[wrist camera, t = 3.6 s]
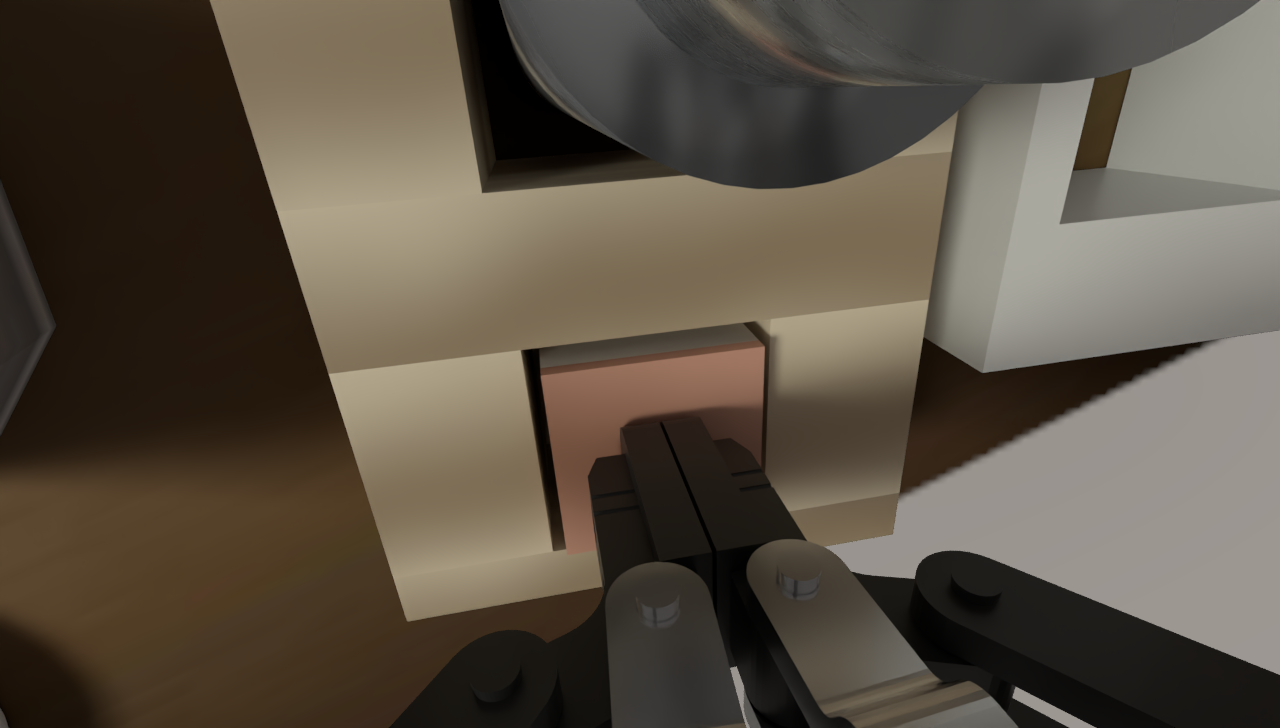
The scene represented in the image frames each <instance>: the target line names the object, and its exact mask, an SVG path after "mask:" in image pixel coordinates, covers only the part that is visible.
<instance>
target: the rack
mask: <svg viewBox="0 0 1280 728" xmlns="http://www.w3.org/2000/svg"><path fill="white" fill-rule="evenodd" d="M1093 82H1094V78H1091V79H1084V80H1077V81H1071V82H1064V83H1043V84H985V85H984V86H983V87H982V88H981V89H980V90H979V91H978V92H977V93H976V94H975V95H974V96H973V97H972V98H970V99H969V100H968V101H967V102H966V103H965V104H964V105H963V106H962V107H961V108H960V109H959V110H958V116H957V122H956V129H955V135H954V142H953V148H952V155H951V161H950V167H949V174H948V180H947V187H946V193H945V200H944V206H943V213H942V219H941V226H940V232H939V239H938V245H937V251H936V258H935V264H934V271H933V277H932V284H931V290H930V297H929V303H928V310H927V316H926V323H925V329H924V336H923V337H925V338H926V339H928V340H929V341H931V342H933V343H934V344H936V345H938V346H939V347H941V348H942V349H944V350H946V351H947V352H949V353H951V354H952V355H954V356H955V357H957V358H959V359H960V360H962V361H964V362H965V363H967V364H968V365H970V366H972V367H973V368H975V369H977V370H978V371H980V372H982V373H986V372H993V371H1000V370H1007V369H1014V368H1021V367H1028V366H1035V365H1042V364H1049V363H1056V362H1062V361H1069V360H1076V359H1083V358H1090V357H1097V356H1104V355H1111V354H1118V353H1125V352H1132V351H1139V350H1146V349H1153V348H1160V347H1167V346H1174V345H1181V344H1188V343H1195V342H1202V341H1208V340H1215V339H1222V338H1229V337H1236V336H1243V335H1250V334H1257V333H1264V332H1271V331H1278V330H1280V0H1260V1H1259V2H1258V3H1256V4H1255V5H1254V6H1252V7H1251V8H1250V9H1248V10H1247V11H1246V12H1244V13H1243V14H1241V15H1240V16H1238V17H1236V18H1235V19H1233V20H1231V21H1230V22H1228V23H1226V24H1225V25H1223V26H1221V27H1220V28H1218V29H1216V30H1215V31H1213V32H1211V33H1210V34H1208V35H1206V36H1205V37H1203V38H1201V39H1200V40H1198V41H1196V42H1194V43H1192V44H1190V45H1188V46H1185V47H1183V48H1181V49H1179V50H1177V51H1174V52H1172V53H1170V54H1168V55H1166V56H1163V57H1161V58H1159V59H1157V60H1155V61H1152V62H1150V63H1147V64H1144V65H1140V66H1137V67H1134V68H1132V71H1131V75H1130V79H1129V83H1128V86H1127V90H1126V94H1125V98H1124V102H1123V105H1122V109H1121V113H1120V117H1119V121H1118V124H1117V128H1116V132H1115V136H1114V140H1113V143H1112V147H1111V151H1110V155H1109V159H1108V163H1107V166H1106V168H1097V169H1086V170H1076V171H1072V170H1073V166H1074V162H1075V157H1076V153H1077V149H1078V145H1079V141H1080V137H1081V132H1082V128H1083V124H1084V120H1085V116H1086V111H1087V107H1088V103H1089V99H1090V95H1091V91H1092V86H1093Z"/></svg>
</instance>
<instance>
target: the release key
mask: <svg viewBox="0 0 1280 728" xmlns="http://www.w3.org/2000/svg"><path fill="white" fill-rule="evenodd" d="M539 354H540V372H541V381H542V388H543V394H544V401H545V408H546V415H547V422H548V428H549V435H550V442H551V449H552V455H553V462H554V469H555V476H556V482H557V489H558V496H559V503H560V510H561V516H562V523H563V530H564V537H565V543H566V550H567V555H571V554H577V553H583V552H589V551H595V550H597V549H596V543H595V534H594V526H593V518H592V509H591V501H590V492H589V484H588V475H589V472H590V470H591V468H592V466H593V464H594V462H595V460H596V458H600V457H607V456H613V455H620V454H621V442H620V427H626V426H633V425H640V424H647V423H654V422H659V424H660V422H661V421H667V420H674V419H681V418H688V417H695V416H699V417H700V418H701V420H702V421H703V423H704V425H705V427H706V429H707V431H708V433H709V434H710V436H711V438H712V440H719V439H726V438H731V439H733V440H734V441H736V442H737V443H739V444H740V445H742V446H743V447H745V448H746V449H748V450H749V451H751V453H752V454H753V456H754V457H755V459H756V461H757V462H758V464H759V465H760V467H761V450H762V418H763V386H764V355H765V346H764V345H763V344H762V343H761V342H760V341H759V340H758V339H757V338H756V337H755V336H754V335H753V333H752V332H751V331H750V330H749V329H748V328H747V327H746V326H745V325H744V324H743V323H736V324H727V325H719V326H711V327H703V328H695V329H687V330H679V331H671V332H663V333H655V334H647V335H639V336H631V337H623V338H615V339H607V340H599V341H591V342H582V343H574V344H566V345H558V346H550V347H542V348H539Z"/></svg>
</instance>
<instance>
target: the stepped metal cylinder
mask: <svg viewBox="0 0 1280 728" xmlns="http://www.w3.org/2000/svg"><path fill="white" fill-rule="evenodd" d="M499 1H500V5H501V9H502V12H503V16H504V19H505V23H506V26H507V30H508V33H509V37H510V41H511V44H512V48H513V51H514V54H515V57H516V60H517V62H518V65H519V67H520V69H521V71H522V73H523V75H524V76H525V78H526V80H527V81H528V83H529V84H530V85H531V86H532V88H533V89H534V90H535V91H536V92H537V93H538V94H539V95H540V96H541V98H542V99H544V100H545V101H546V102H547V103H549V104H550V105H551V106H553V107H555V108H556V109H558V110H560V111H561V112H563V113H565V114H567V115H569V116H571V117H573V118H575V119H576V120H578V121H580V122H582V123H584V124H586V125H588V126H590V127H592V128H594V129H595V130H597V131H599V132H601V133H603V134H605V135H607V136H609V137H611V138H613V139H614V140H616V141H618V142H620V143H622V144H624V145H626V146H628V147H630V148H632V149H633V150H635V151H637V152H639V153H641V154H643V155H645V156H647V157H649V158H651V159H652V160H654V161H656V162H659V163H661V164H663V165H666V166H668V167H670V168H673V169H675V170H677V171H680V172H682V173H684V174H686V175H689V176H692V177H696V178H699V179H703V180H707V181H711V182H714V183H718V184H722V185H728V186H736V187H744V188H752V189H785V188H797V187H803V186H809V185H815V184H821V183H827V182H830V181H833V180H836V179H840V178H843V177H846V176H849V175H853V174H856V173H859V172H861V171H864V170H866V169H868V168H870V167H872V166H875V165H877V164H879V163H881V162H883V161H886V160H888V159H890V158H892V157H894V156H895V155H897V154H899V153H900V152H902V151H904V150H905V149H907V148H908V147H910V146H912V145H913V144H915V143H917V142H918V141H920V140H922V139H923V138H924V137H926V136H927V135H928V134H930V133H931V132H932V131H933V130H935V129H936V128H937V127H939V126H940V125H941V124H942V123H944V122H945V121H946V120H948V119H949V118H950V117H951V116H953V115H954V114H955V113H956V112H957V111H958V110H959V109H960V108H961V107H962V106H963V105H964V104H965V103H966V102H967V101H968V100H969V99H970V98H972V97H973V96H974V95H975V94H976V93H977V92H978V91H979V90H980V89H981V88H982V87H983V86H984V85H985V84H1043V83H1064V82H1071V81H1077V80H1084V79H1091V78H1097V77H1104V76H1107V75H1111V74H1114V73H1117V72H1121V71H1124V70H1127V69H1130V68H1134V67H1137V66H1140V65H1144V64H1147V63H1150V62H1152V61H1155V60H1157V59H1159V58H1161V57H1163V56H1166V55H1168V54H1170V53H1172V52H1174V51H1177V50H1179V49H1181V48H1183V47H1185V46H1188V45H1190V44H1192V43H1194V42H1196V41H1198V40H1200V39H1201V38H1203V37H1205V36H1206V35H1208V34H1210V33H1211V32H1213V31H1215V30H1216V29H1218V28H1220V27H1221V26H1223V25H1225V24H1226V23H1228V22H1230V21H1231V20H1233V19H1235V18H1236V17H1238V16H1240V15H1241V14H1243V13H1244V12H1246V11H1247V10H1248V9H1250V8H1251V7H1252V6H1254V5H1255V4H1256V3H1258V2H1259V1H1260V0H499Z"/></svg>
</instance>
